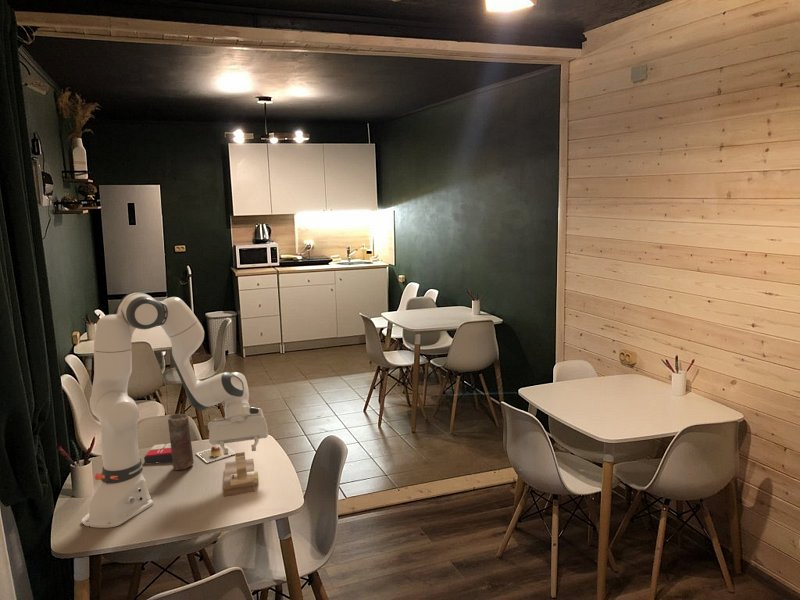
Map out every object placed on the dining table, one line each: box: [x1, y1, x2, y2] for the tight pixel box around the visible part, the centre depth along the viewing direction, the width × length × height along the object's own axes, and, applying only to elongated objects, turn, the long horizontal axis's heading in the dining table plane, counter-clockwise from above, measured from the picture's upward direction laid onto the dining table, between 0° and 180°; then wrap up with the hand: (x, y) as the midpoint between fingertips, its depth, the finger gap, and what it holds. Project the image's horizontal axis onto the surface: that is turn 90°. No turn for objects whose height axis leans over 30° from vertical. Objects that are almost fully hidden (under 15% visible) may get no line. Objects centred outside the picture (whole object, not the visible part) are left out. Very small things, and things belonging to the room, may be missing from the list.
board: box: [222, 458, 256, 497], centre depth 223 cm, size 22×10×2 cm, turn 13°
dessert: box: [195, 443, 237, 464], centre depth 245 cm, size 12×12×5 cm
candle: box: [167, 413, 195, 471], centre depth 235 cm, size 8×7×20 cm
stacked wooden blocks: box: [230, 451, 260, 486], centre depth 216 cm, size 6×9×10 cm, turn 103°
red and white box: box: [143, 442, 173, 464], centre depth 246 cm, size 11×4×15 cm
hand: (240, 452), depth 218 cm, fingers open, 8 cm apart
